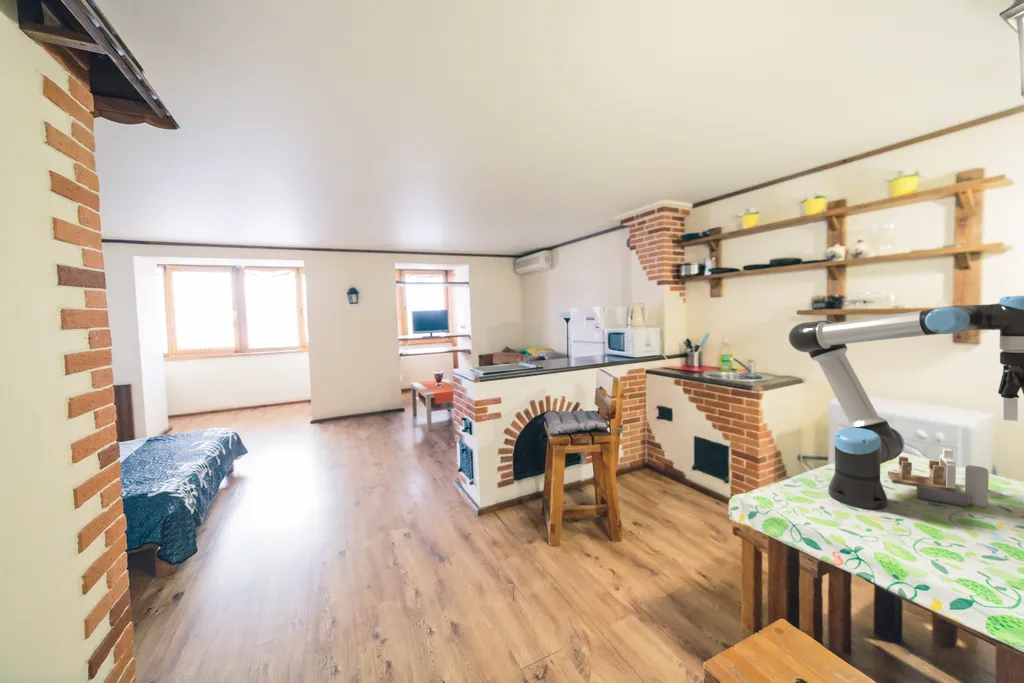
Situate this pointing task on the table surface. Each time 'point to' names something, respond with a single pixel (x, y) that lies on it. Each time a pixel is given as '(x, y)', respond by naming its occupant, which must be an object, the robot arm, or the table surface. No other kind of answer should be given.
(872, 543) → the table surface
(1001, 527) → the table surface
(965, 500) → the grey capped cylinder
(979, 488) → the beverage can
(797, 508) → the table surface
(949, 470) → the white bar frame
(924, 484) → the cradle board
